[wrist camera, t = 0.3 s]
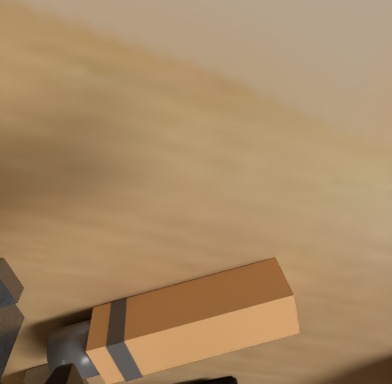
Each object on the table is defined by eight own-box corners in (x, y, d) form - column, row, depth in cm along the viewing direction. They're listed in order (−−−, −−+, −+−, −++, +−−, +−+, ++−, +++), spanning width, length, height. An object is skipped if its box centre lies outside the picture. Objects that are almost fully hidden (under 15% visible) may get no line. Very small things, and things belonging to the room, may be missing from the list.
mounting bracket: (3, 257, 24) (-40, 335, 18) (96, 394, 32) (85, 477, 26) (-69, 277, 24) (-133, 361, 18) (42, 409, 32) (20, 494, 26)
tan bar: (275, 256, 26) (294, 295, 23) (281, 293, 28) (300, 334, 25) (54, 317, 27) (40, 364, 23) (75, 349, 29) (65, 397, 25)
